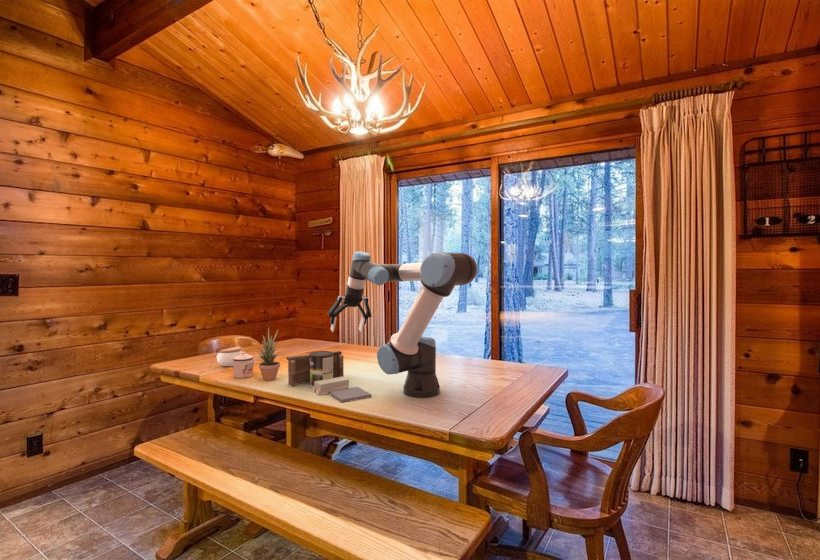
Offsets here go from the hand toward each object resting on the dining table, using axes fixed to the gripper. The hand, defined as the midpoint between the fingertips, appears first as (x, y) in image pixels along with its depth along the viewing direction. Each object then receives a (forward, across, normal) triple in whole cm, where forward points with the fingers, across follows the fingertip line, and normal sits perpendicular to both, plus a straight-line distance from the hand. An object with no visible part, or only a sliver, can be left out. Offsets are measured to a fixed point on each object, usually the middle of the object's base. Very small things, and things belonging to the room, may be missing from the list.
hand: (346, 330), depth 189 cm
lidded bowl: (+46, +39, -52) cm, 80 cm away
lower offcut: (+21, +9, +16) cm, 28 cm away
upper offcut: (+18, +8, +15) cm, 25 cm away
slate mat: (+17, +4, +25) cm, 31 cm away
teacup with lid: (+37, +35, -27) cm, 58 cm away
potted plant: (+32, +27, -15) cm, 45 cm away
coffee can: (+24, +9, +6) cm, 26 cm away
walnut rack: (+26, +9, -1) cm, 27 cm away
